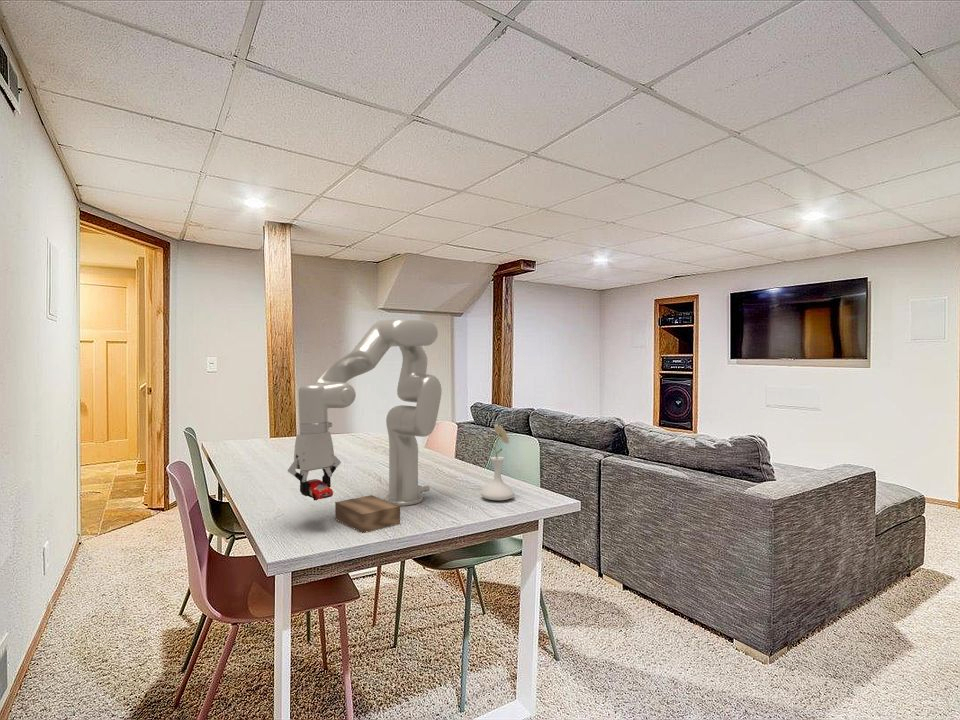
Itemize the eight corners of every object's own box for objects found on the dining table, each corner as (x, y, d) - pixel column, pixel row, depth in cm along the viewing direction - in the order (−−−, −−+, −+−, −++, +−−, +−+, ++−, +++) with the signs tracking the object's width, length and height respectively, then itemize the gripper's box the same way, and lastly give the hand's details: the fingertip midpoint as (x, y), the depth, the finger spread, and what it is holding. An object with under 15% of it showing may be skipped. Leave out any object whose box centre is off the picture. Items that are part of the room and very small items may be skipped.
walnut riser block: (371, 511, 157) (371, 495, 157) (400, 523, 145) (400, 506, 145) (335, 519, 149) (335, 502, 149) (362, 532, 137) (362, 514, 137)
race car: (336, 498, 140) (335, 484, 140) (316, 502, 136) (316, 488, 136) (315, 488, 150) (315, 475, 149) (297, 492, 146) (297, 478, 146)
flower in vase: (515, 503, 167) (515, 427, 167) (480, 503, 167) (481, 426, 167) (512, 493, 180) (513, 422, 180) (480, 493, 180) (480, 422, 180)
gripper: (336, 423, 151) (338, 484, 151) (277, 431, 140) (280, 496, 140) (348, 426, 145) (350, 489, 146) (288, 434, 134) (290, 502, 134)
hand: (315, 492), depth 143 cm, fingers closed on race car, 5 cm apart
